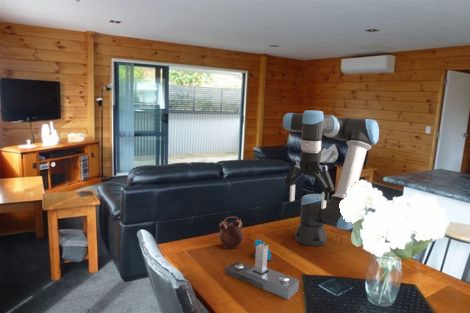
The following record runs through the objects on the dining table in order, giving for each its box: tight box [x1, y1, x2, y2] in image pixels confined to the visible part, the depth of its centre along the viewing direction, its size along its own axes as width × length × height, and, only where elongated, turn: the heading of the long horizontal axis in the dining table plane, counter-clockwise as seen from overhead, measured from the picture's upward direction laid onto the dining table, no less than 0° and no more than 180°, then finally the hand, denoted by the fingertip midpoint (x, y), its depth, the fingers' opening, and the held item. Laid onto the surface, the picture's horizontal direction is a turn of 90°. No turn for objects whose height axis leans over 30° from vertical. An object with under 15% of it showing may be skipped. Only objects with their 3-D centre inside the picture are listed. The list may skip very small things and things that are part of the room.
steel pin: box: [254, 243, 269, 276], centre depth 130 cm, size 3×3×14 cm
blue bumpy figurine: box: [253, 239, 272, 261], centre depth 151 cm, size 11×6×10 cm
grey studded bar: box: [224, 260, 300, 300], centre depth 131 cm, size 8×28×5 cm, turn 53°
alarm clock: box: [218, 215, 244, 249], centre depth 159 cm, size 11×5×15 cm, turn 105°
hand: (307, 204), depth 136 cm, fingers open, 13 cm apart
